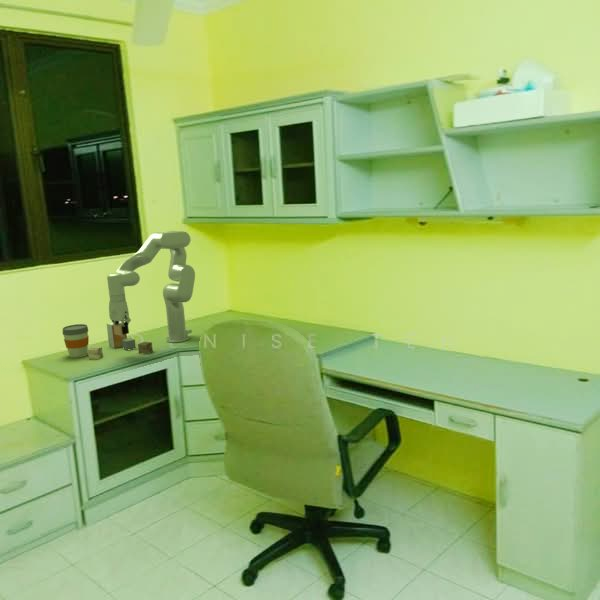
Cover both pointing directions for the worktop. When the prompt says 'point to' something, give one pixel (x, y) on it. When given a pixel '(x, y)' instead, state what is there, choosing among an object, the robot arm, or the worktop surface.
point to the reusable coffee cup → (76, 339)
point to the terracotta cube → (119, 329)
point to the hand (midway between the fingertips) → (121, 332)
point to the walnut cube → (145, 347)
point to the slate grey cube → (128, 343)
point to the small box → (114, 336)
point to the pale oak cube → (95, 352)
